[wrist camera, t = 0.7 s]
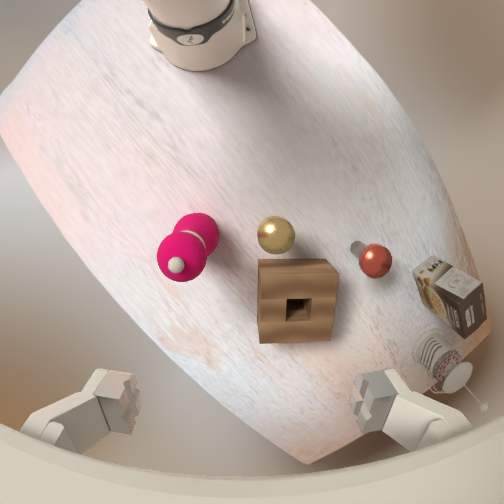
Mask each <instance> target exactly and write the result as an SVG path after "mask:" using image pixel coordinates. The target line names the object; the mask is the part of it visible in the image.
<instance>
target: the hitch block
mask: <svg viewBox="0 0 504 504" xmlns="http://www.w3.org/2000/svg"><path fill="white" fill-rule="evenodd" d="M338 277H339V273H338V272H337V271H336V270H335V269H334V268H333V267H332V266H331V264H330V263H329V262H328V261H327V260H326V259H258V304H257V323H258V332H259V341H260V344H265V343H294V342H313V341H329V340H331V335H332V328H333V320H334V312H335V304H336V296H337V287H338ZM287 299H301V301H287Z"/></svg>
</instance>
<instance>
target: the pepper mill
mask: <svg viewBox="0 0 504 504" xmlns="http://www.w3.org/2000/svg"><path fill="white" fill-rule="evenodd" d="M218 239H219V234H218V229H217V225H216V223H215V221H214V220H213V219H212V218H211V217H210V216H208V215H206V214H203V213H193V214H188V215H186V216H184V217H182V218H181V219H180V220H179V221H178V222H177V224H176V225H175V227H174V230H173V233H172V234H170V235H168V236H167V237H166V238H165V239H164V240H163V241H162V242H161V244H160V246H159V248H158V252H157V262H158V265H159V268H160V270H161V271H162V273H163V274H164V275H165V276H166V277H168V278H169V279H171V280H173V281H177V282H187V281H190V280H193V279H194V278H196V277H197V276H198V275H199V274H200V273H201V272H202V271H203V269H204V267H205V264H206V260H207V256H209V255H210V254H211V253H212V252H213V251H214V249H215V248H216V246H217V244H218Z"/></svg>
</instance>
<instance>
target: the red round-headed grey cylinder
mask: <svg viewBox="0 0 504 504" xmlns="http://www.w3.org/2000/svg"><path fill="white" fill-rule="evenodd" d="M351 252H352V253H353V254H354V255H355V256H357V257H358V258H359V266H360V268H361V270H362V271H363V272H364V273H365V274H366V275H367V276H369V277H370V278H380V277H382V276H384V275H385V274H386V273H387V272H388V271H389V269H390V267H391V264H392V256H391V253H390V252H389V250H388V249H387V248H385V247H383V246H382V245H379V244H371V245H369V246H367V245H365V244H363V243H362V242H360V241H355V242H353V243H352V245H351Z"/></svg>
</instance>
